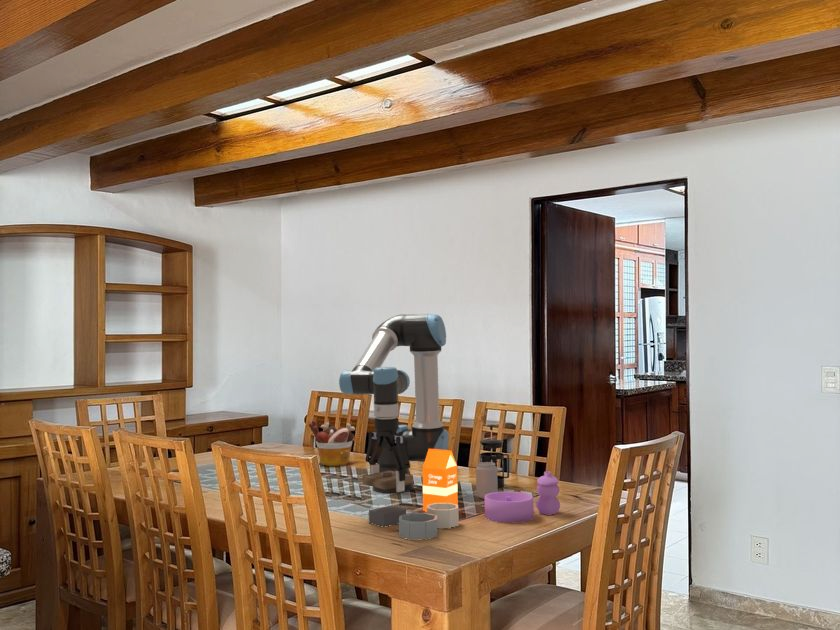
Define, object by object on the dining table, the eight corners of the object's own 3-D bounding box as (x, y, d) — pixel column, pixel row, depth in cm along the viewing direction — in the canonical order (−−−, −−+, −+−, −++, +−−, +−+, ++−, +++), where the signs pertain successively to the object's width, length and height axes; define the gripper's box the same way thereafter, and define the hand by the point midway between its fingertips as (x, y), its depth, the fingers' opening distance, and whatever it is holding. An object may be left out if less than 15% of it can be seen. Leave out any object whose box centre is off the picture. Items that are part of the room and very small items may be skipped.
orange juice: (446, 515, 247) (445, 452, 247) (422, 511, 252) (421, 450, 252) (458, 509, 254) (457, 448, 254) (435, 506, 258) (434, 446, 259)
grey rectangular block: (369, 523, 238) (368, 510, 238) (391, 518, 244) (390, 505, 244) (384, 527, 233) (383, 514, 233) (406, 521, 239) (405, 508, 239)
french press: (480, 489, 285) (480, 426, 285) (475, 484, 294) (474, 423, 294) (512, 488, 287) (511, 425, 287) (505, 482, 296) (504, 422, 296)
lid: (362, 484, 239) (362, 472, 239) (389, 478, 247) (389, 467, 247) (385, 489, 231) (385, 478, 231) (412, 483, 239) (412, 472, 239)
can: (496, 500, 267) (496, 465, 267) (475, 499, 268) (474, 464, 269) (498, 495, 274) (498, 461, 274) (477, 494, 276) (477, 461, 276)
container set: (496, 525, 234) (495, 481, 235) (477, 513, 249) (477, 472, 249) (570, 517, 242) (569, 475, 242) (548, 507, 256) (547, 467, 257)
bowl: (420, 524, 235) (420, 506, 235) (442, 519, 242) (442, 501, 242) (442, 530, 228) (442, 511, 228) (465, 524, 235) (464, 506, 235)
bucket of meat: (351, 459, 352) (351, 416, 352) (359, 466, 336) (358, 420, 336) (307, 462, 346) (307, 418, 346) (313, 469, 330) (312, 422, 331)
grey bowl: (391, 535, 224) (391, 517, 224) (419, 527, 232) (419, 511, 232) (417, 542, 216) (417, 524, 216) (445, 534, 224) (445, 517, 224)
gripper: (353, 415, 245) (354, 484, 245) (402, 422, 228) (404, 496, 228) (371, 412, 250) (372, 480, 250) (421, 419, 233) (422, 492, 233)
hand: (387, 488), depth 239 cm, fingers closed on lid, 11 cm apart
